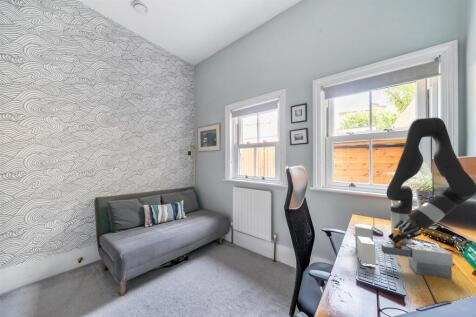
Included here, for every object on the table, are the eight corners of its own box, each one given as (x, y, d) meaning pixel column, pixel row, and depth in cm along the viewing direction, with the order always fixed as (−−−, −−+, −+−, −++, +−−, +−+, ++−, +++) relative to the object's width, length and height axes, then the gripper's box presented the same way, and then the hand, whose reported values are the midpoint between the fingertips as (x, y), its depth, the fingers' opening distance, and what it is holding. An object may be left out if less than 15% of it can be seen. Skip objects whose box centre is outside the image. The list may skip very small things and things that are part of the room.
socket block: (357, 257, 90) (357, 236, 90) (369, 259, 88) (369, 237, 88) (362, 265, 82) (362, 242, 82) (375, 268, 80) (375, 244, 81)
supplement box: (373, 249, 98) (373, 225, 98) (371, 254, 93) (371, 229, 93) (357, 245, 103) (357, 222, 103) (355, 249, 98) (354, 226, 98)
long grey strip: (381, 250, 84) (381, 226, 85) (438, 258, 77) (437, 232, 78) (384, 253, 81) (383, 228, 82) (443, 261, 74) (442, 234, 75)
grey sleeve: (406, 265, 82) (405, 243, 82) (443, 271, 78) (442, 248, 78) (413, 273, 76) (413, 249, 77) (454, 280, 72) (453, 254, 72)
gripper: (409, 205, 85) (378, 228, 89) (428, 212, 72) (391, 239, 76) (423, 217, 83) (392, 240, 87) (446, 227, 70) (407, 254, 74)
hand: (391, 239), depth 82 cm, fingers closed on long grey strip, 3 cm apart
